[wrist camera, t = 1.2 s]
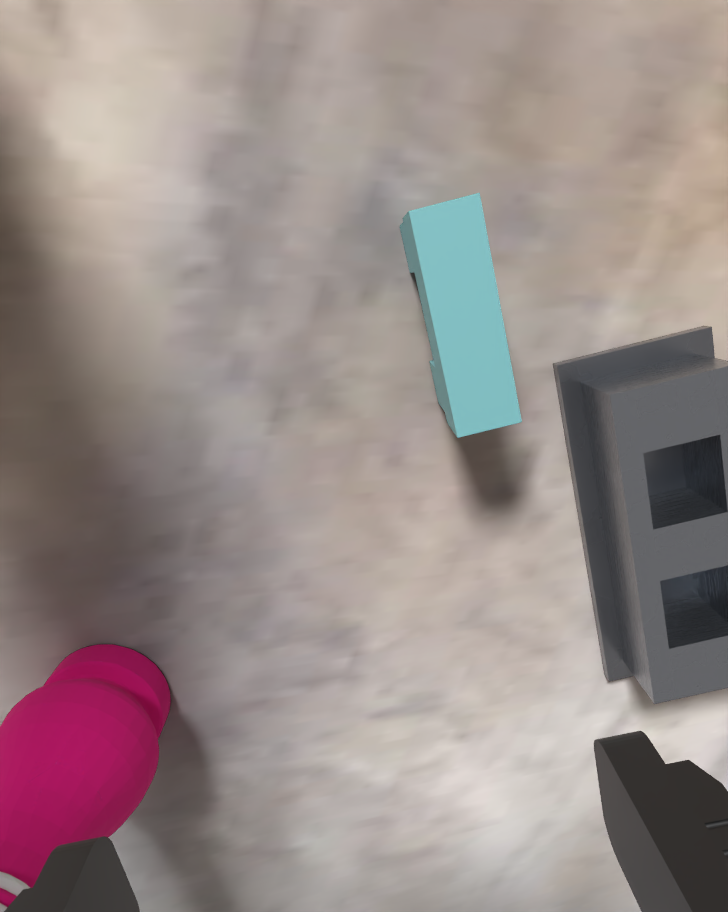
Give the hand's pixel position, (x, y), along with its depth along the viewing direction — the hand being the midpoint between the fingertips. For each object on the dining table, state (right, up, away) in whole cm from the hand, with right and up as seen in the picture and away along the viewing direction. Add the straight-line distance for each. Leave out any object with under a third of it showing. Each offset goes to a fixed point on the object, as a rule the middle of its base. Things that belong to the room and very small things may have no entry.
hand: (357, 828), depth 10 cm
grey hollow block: (+14, +3, +21) cm, 25 cm away
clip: (+4, +12, +18) cm, 22 cm away
